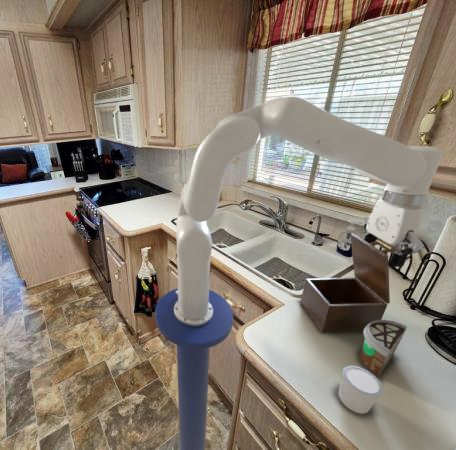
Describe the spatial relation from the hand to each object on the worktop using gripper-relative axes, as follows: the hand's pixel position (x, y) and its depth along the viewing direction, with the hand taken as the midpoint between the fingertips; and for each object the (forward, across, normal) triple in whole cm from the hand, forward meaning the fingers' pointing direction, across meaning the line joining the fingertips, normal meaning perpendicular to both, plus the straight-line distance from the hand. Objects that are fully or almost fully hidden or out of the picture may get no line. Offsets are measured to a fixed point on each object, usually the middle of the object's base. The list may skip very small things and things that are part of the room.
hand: (380, 256), depth 69 cm
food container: (+22, +15, -7) cm, 27 cm away
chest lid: (+4, 0, -2) cm, 4 cm away
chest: (+22, 0, -7) cm, 23 cm away
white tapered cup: (+22, +25, -19) cm, 38 cm away
